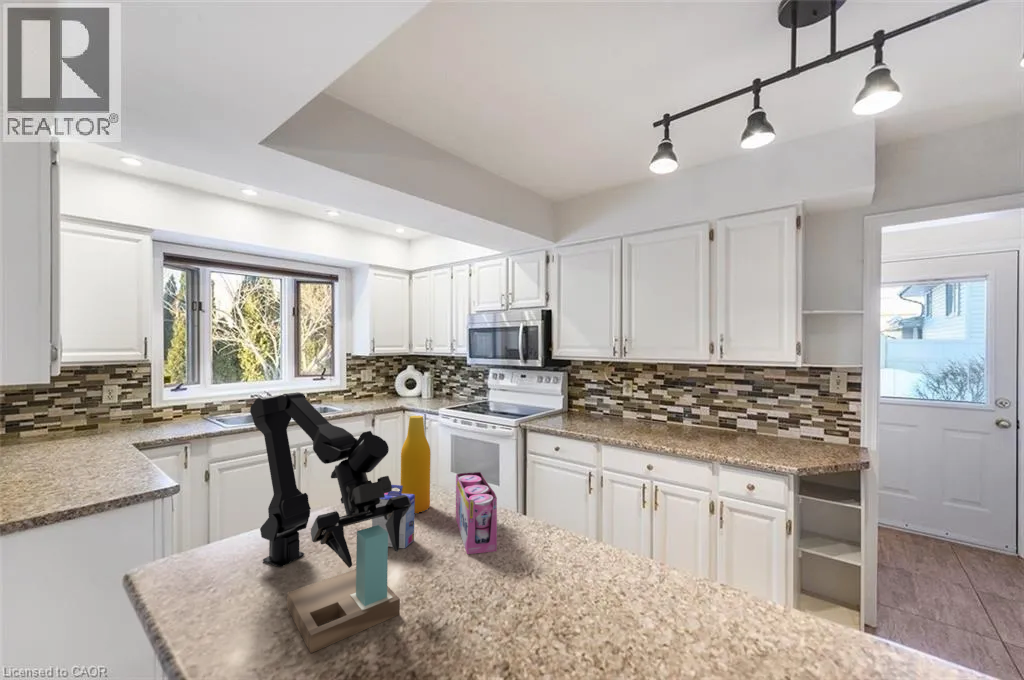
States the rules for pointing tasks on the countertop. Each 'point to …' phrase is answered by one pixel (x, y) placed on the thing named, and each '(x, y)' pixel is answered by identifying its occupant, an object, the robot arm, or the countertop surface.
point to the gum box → (476, 513)
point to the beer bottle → (416, 464)
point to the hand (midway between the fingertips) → (374, 558)
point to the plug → (371, 564)
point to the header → (336, 610)
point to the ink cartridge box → (406, 522)
